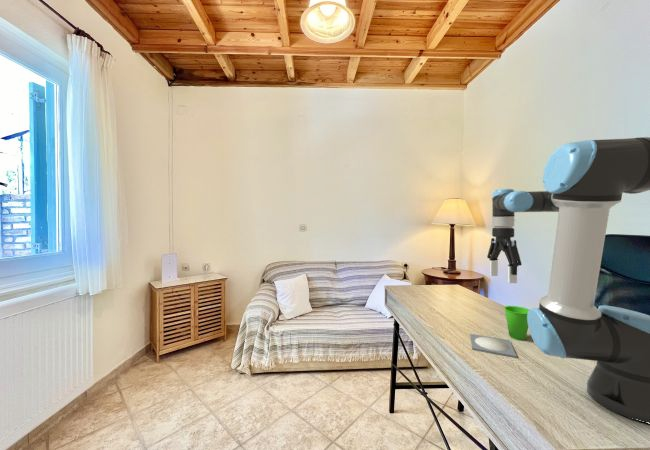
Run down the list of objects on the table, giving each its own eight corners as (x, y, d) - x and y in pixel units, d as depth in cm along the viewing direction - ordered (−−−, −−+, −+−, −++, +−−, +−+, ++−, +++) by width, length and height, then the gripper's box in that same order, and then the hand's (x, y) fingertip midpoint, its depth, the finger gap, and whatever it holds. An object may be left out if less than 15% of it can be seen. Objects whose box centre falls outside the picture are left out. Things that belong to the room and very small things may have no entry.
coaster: (516, 357, 88) (516, 355, 88) (472, 349, 94) (472, 347, 94) (509, 341, 100) (509, 339, 100) (469, 335, 105) (469, 333, 105)
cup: (537, 343, 98) (537, 314, 98) (509, 341, 100) (510, 312, 99) (524, 333, 107) (524, 306, 106) (499, 331, 109) (499, 305, 108)
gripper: (533, 228, 96) (532, 286, 96) (496, 226, 120) (496, 273, 121) (511, 228, 96) (510, 286, 97) (479, 226, 121) (478, 272, 121)
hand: (502, 279), depth 109 cm, fingers open, 13 cm apart
